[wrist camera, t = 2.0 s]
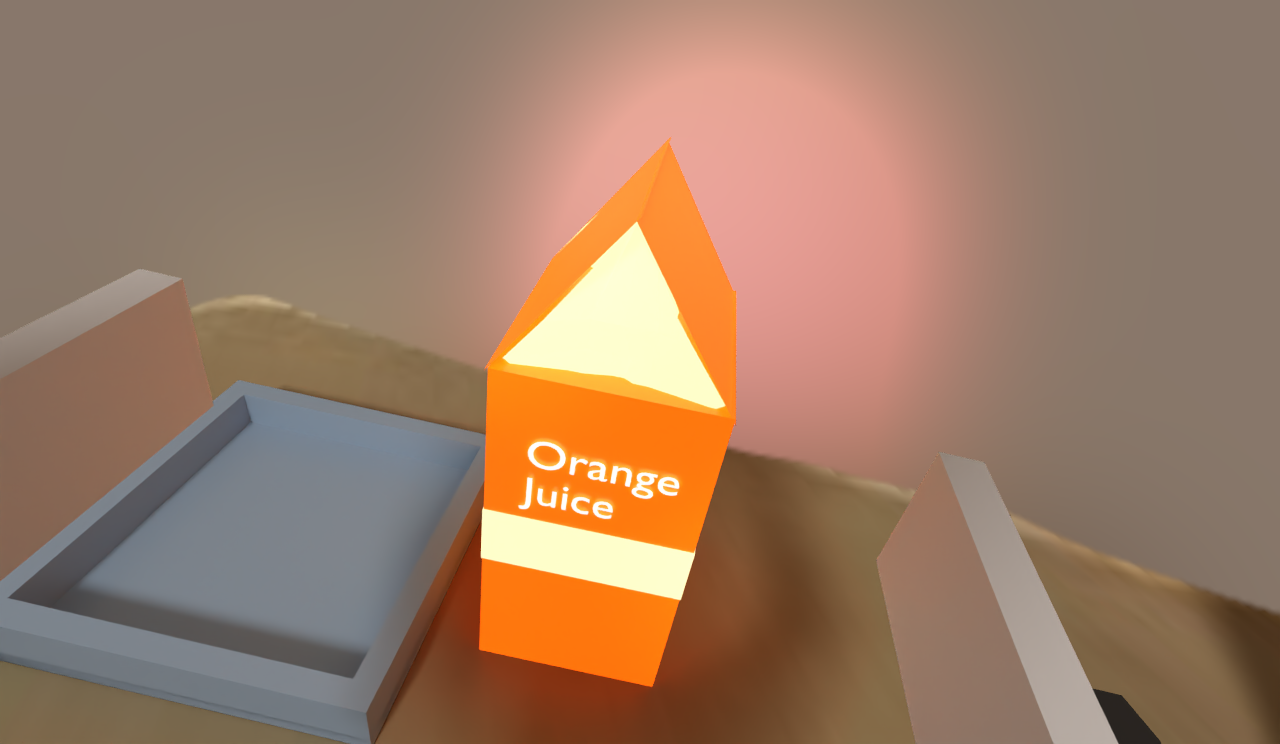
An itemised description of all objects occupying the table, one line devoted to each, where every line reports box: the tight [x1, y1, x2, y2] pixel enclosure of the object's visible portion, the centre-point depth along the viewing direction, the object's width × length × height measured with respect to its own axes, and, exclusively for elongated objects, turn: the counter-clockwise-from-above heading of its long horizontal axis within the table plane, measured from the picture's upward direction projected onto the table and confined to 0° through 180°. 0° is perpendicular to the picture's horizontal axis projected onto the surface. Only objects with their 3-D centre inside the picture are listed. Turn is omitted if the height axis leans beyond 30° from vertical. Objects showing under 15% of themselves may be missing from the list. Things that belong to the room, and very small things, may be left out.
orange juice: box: [479, 138, 736, 687], centre depth 25 cm, size 8×9×20 cm
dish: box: [0, 380, 486, 744], centre depth 29 cm, size 15×15×2 cm
